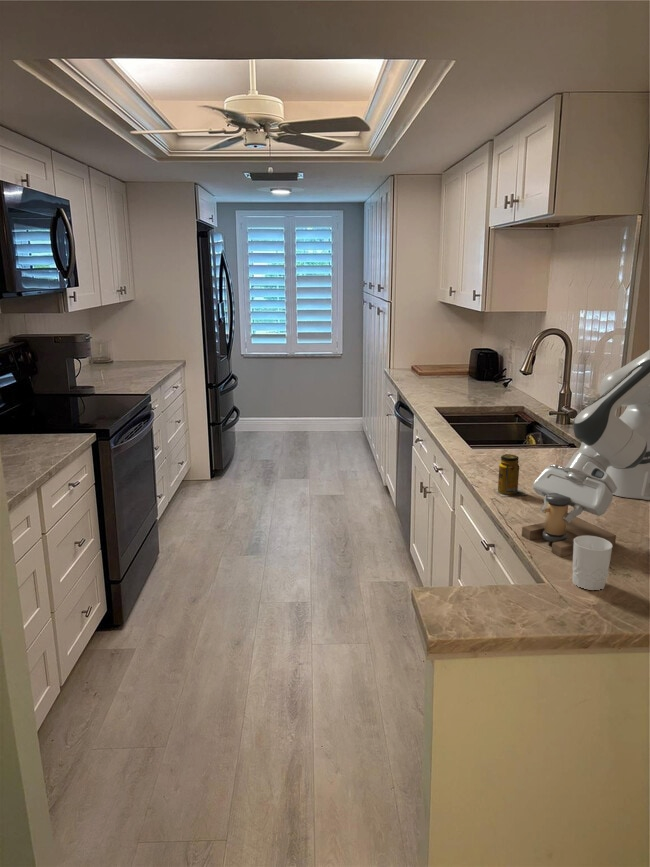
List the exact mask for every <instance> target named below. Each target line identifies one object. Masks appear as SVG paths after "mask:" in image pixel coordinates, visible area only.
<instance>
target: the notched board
mask: <svg viewBox="0 0 650 867" xmlns="http://www.w3.org/2000/svg"><path fill="white" fill-rule="evenodd" d="M521 529H522V530H521V537H523V538H524V539H527V540H529V541H531V540H536V539H541V538H543V531H544V529H545V521H544V522H539V523H536V524H535V523H534V524H530V525H525V526H522V527H521ZM566 534H567V539H566V540H563V541H559V542H552V543H551V551H550V552H551V553H552V554H554V555H555V554H556V556H557V557H559V558H562V557H566V556H571V555H573V544H574V538H576V537H578V536H596V537H600V538H603V539H606V540H608V541H609V542H611V543H612V545H613V546H614V545H616V539H617V535H616V534H614V533H613V532H610V531H608V530H605V529H603V528H602V527H599V526H597V525H595V524H593V523H591V522H588V521H586V520H583V519H582V518H579V517H578V516H576V517H574V518H573V519H572V520H571V522H570V523H569V522H567V524H566Z"/></svg>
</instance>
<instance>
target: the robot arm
mask: <svg viewBox="0 0 650 867" xmlns="http://www.w3.org/2000/svg"><path fill="white" fill-rule="evenodd" d="M599 392H600V395H601V396H599V397H598V398H597V399H596V400H595V401H593V402H592V403H590V404H589V405H587V406H586V407H585V408H583V409H582V410H581V411H580V412H578V414H577V415H575V418H574V419H573V422H572V423H573V424H572V425H573V426H572V427H573V434H574V437H575V438H576V439H577V440H578V441H581V444H580V447H579V448H578V450H577V451H575V452H574V453H573V455H572V456H571V458H570V459H569V461H568V462H567V464H566V465H565V466H560V465H558V464H551V465H547V466H546V467H545V469H544V470H543V471H542V472H541V473H540V474H539V475H538V476H537V478H536V479H535V481H533V483H532V489H533V491H534V492H535V493H536V494H537V495H538V496H541V497H543V505H542V507H541V512H542V513H544V508H546V506H547V501H546V495H547V494H549V493H558V494H561V495H564V496H567V497H570V503H569V504H568V507H573V509H572V510H570V511H569V512H568V513H567V512H566V513H565V514H564V516H563V517H562V518H563V520H564V521H566V522H569V523H570V522H571V520H572V519H573V518H574V517H578V516H580V515H581V514H582V513H583V512H587V513H588V514H592V515H595V516H598V517H600V516H603V515H605V514H606V513H607V510H608V509H609V508H610V505H611V504H612V501H613V498H614V496H617V497H621V498H622V497H623V498H628V499H640V500H646V501H650V349H648V350H647V351H646V352H644V353H642V354H641V355H640V356H638V357H636V358H634V359H633V360H631V361H630V362H629V363H627V364H625V365H624V366H622V367H621V368H618V369H616V370H615V371H612V372H610V373H608V374H607V373H606V375H605V376H604V377H603V378H602V380H601V381H600V384H599ZM620 407H626V408H625V410H624V411H623V413H622V414H620V416H619V417H618V416H617V414H616V411H617V410H618V409H619V408H620ZM544 514H545V515H546V512H545V513H544Z"/></svg>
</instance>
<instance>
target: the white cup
mask: <svg viewBox="0 0 650 867" xmlns="http://www.w3.org/2000/svg"><path fill="white" fill-rule="evenodd" d="M613 547H614V545H612V543H611V542H609V541H608V540H606V539H603V538H600V537H596V536H578V537H576V538H574V544H573V554H572V578H571V581H572V583H573V585H574V584H575V586H576V585H577V586H578V587H577V586H576V587H577V588H579V587H581V588H584V589H590V590H599V591H601V590H600V589H602V590H604V589H605V586H606V583H607V577H608V574H609V570H610V565H611V564H610V563H611V559H612V551H613ZM581 588H580V589H581ZM584 589H583V590H584Z"/></svg>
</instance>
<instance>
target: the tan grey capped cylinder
mask: <svg viewBox="0 0 650 867" xmlns="http://www.w3.org/2000/svg"><path fill="white" fill-rule="evenodd" d="M546 501H547V506H546V508H544V514H545V512H546V514H545V517H544V518H545V520H544V522H545V529H544V531H543V537H542V538H543V539H544V540H546V541H549V542H552V543H554V542H559V541H563V540H567V534H566V524H567V522H566V521H564V520H563V518H562V517H563V516H564V514H565V513H566V512H567V513H569V512H568V511H569V509H568V508H569V505H568V504H569V503H570V497H567V496H564V495H561V494H558V493H549V494H547V495H546Z"/></svg>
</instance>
